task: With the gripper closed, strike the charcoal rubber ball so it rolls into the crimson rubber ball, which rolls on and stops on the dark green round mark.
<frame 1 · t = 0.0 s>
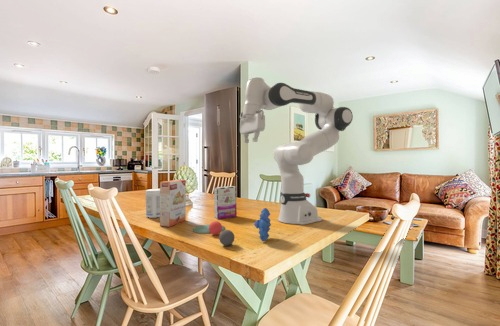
hand: (250, 142, 116), 39 cm above the table, tool pointing down, fingers open, 8 cm apart
ball A: (226, 237, 90), on the table
cracker box: (173, 223, 122), on the table
candy bar box: (225, 217, 134), on the table
supplement tub: (155, 216, 137), on the table
ball B: (215, 228, 103), on the table
grapes: (262, 240, 96), on the table
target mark: (209, 228, 111), on the table
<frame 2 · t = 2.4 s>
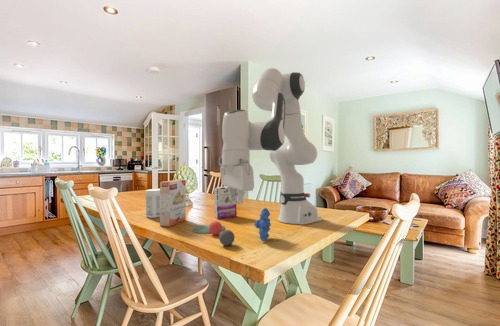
hand: (236, 201, 81), 17 cm above the table, tool pointing down, fingers open, 4 cm apart
nothing on the table moved.
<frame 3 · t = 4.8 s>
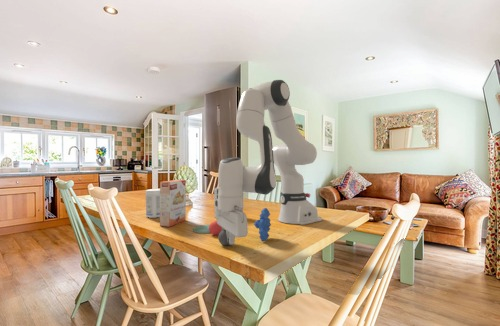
hand: (231, 243, 87), 2 cm above the table, tool pointing down, fingers closed
ball A: (225, 237, 91), on the table, touching gripper
everything else where it was.
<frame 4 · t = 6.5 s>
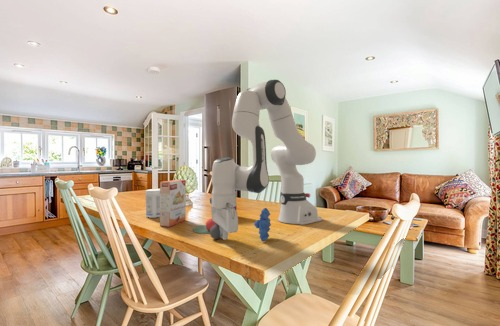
hand: (224, 238, 93), 2 cm above the table, tool pointing down, fingers closed
ball A: (216, 231, 97), on the table
ball B: (212, 224, 108), on the table
everything else where it was.
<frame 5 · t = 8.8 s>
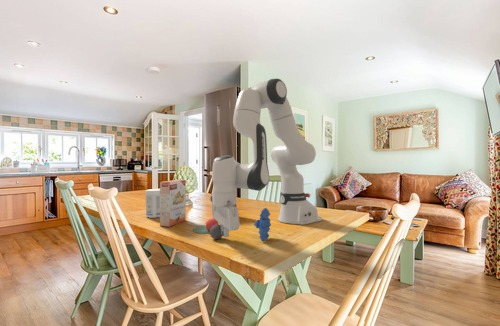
hand: (225, 236, 93), 2 cm above the table, tool pointing down, fingers closed
nothing on the table moved.
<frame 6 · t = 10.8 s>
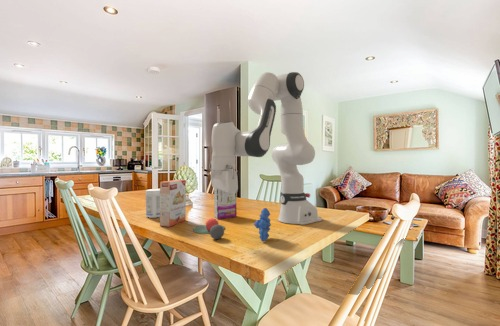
hand: (223, 202, 93), 15 cm above the table, tool pointing down, fingers closed
nothing on the table moved.
at the end: ball B 4.1 cm from the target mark (horizontally); ball B never touched the robot; ball A first touched ball B at 5.2 s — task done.
